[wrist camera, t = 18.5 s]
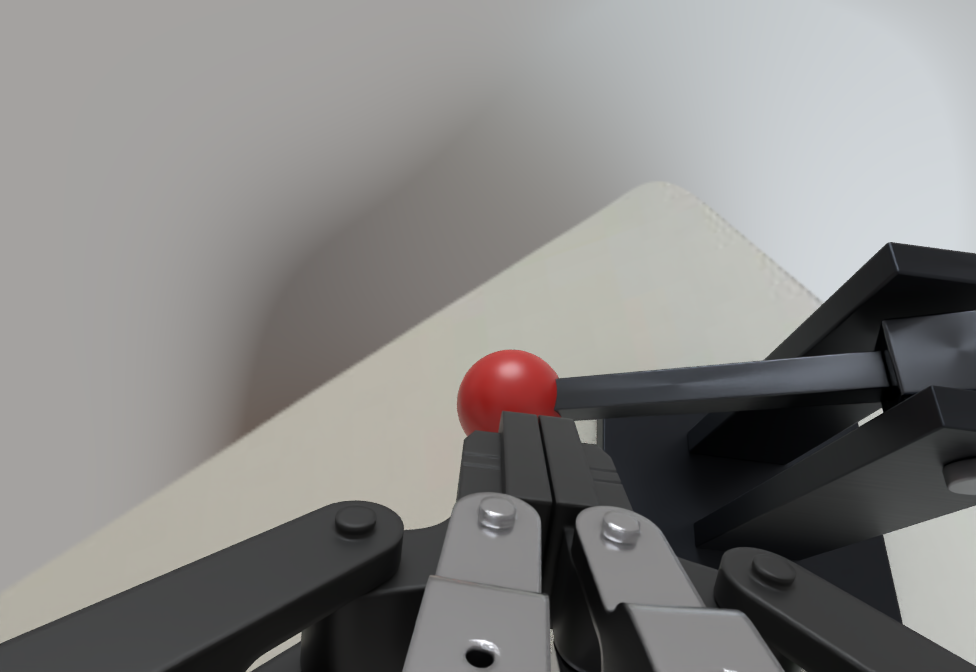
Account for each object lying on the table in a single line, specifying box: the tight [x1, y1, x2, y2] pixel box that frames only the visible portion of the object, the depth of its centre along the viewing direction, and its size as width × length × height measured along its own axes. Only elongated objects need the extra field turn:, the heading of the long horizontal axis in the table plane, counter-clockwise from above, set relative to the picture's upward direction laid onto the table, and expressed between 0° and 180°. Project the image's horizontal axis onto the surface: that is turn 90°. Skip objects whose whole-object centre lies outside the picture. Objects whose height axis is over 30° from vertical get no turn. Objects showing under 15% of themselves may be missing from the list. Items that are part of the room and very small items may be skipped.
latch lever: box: [457, 309, 976, 436], centre depth 18 cm, size 15×4×4 cm, turn 84°
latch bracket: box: [597, 242, 976, 624], centre depth 20 cm, size 12×9×15 cm
